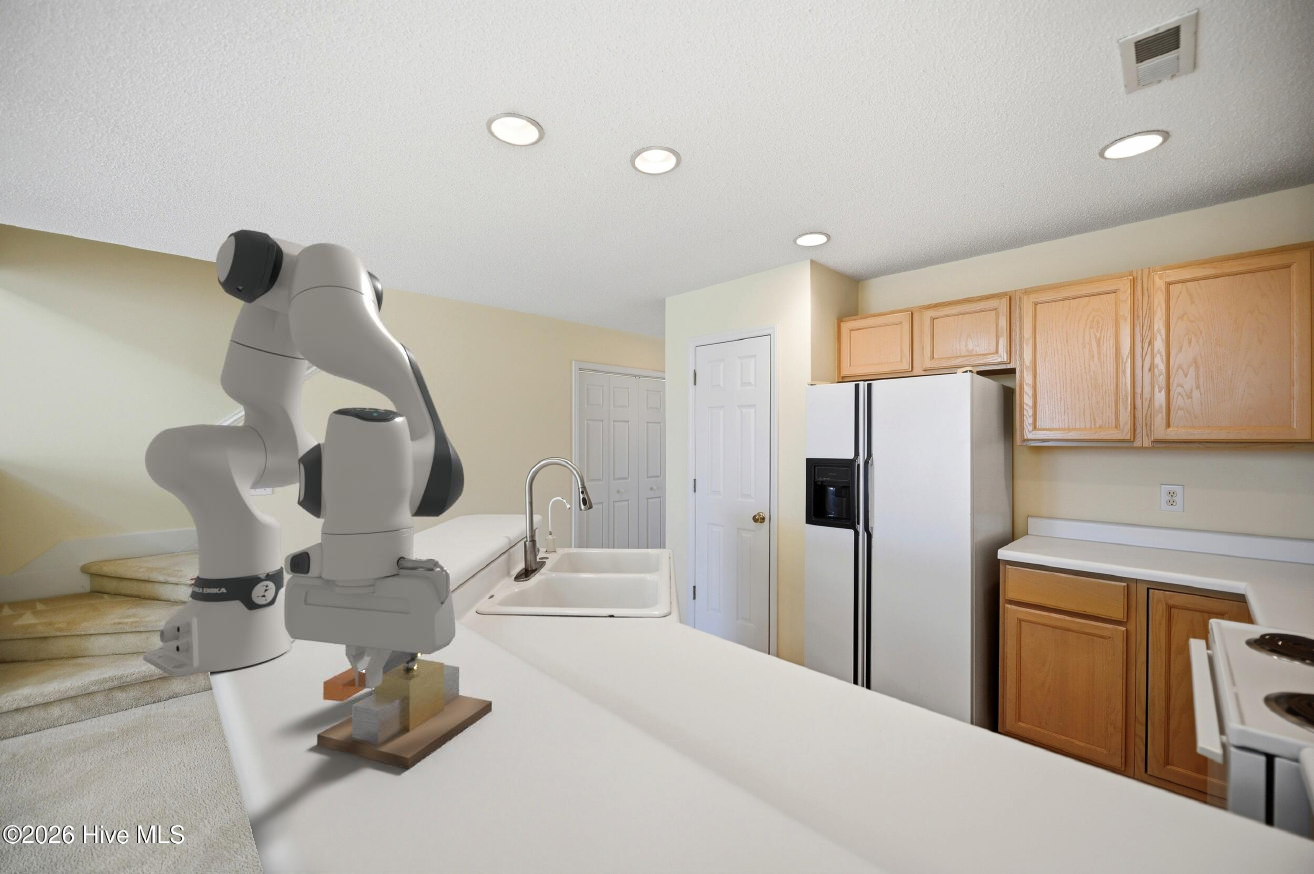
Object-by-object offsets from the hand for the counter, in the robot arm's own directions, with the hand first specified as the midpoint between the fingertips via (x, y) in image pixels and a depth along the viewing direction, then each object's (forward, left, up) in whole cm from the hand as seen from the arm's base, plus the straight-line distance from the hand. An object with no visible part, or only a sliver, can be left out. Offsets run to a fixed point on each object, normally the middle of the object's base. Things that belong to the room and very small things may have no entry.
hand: (368, 685), depth 57 cm
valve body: (-4, +9, -8) cm, 13 cm away
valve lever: (-3, +4, -1) cm, 5 cm away
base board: (-4, +9, -9) cm, 13 cm away
